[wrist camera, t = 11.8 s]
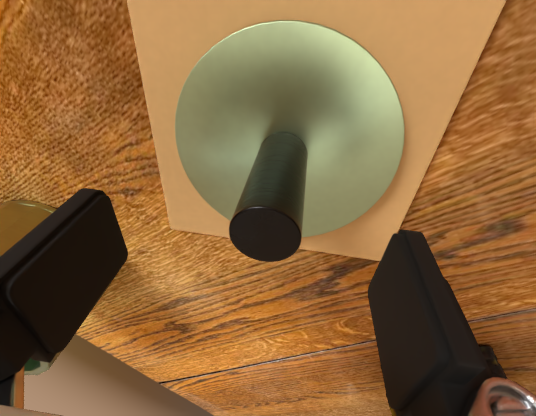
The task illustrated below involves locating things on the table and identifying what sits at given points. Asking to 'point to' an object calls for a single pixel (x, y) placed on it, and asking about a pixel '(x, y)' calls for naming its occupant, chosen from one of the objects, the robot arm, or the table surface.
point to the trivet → (351, 24)
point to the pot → (14, 229)
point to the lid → (288, 133)
